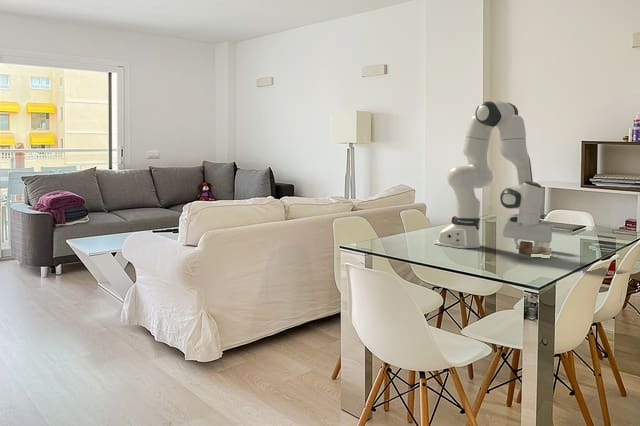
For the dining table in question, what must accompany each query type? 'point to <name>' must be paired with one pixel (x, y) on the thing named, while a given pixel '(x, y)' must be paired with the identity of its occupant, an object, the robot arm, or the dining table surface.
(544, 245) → the jar
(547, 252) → the maple slab
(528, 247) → the walnut cube
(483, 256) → the dining table surface
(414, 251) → the dining table surface
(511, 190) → the robot arm
